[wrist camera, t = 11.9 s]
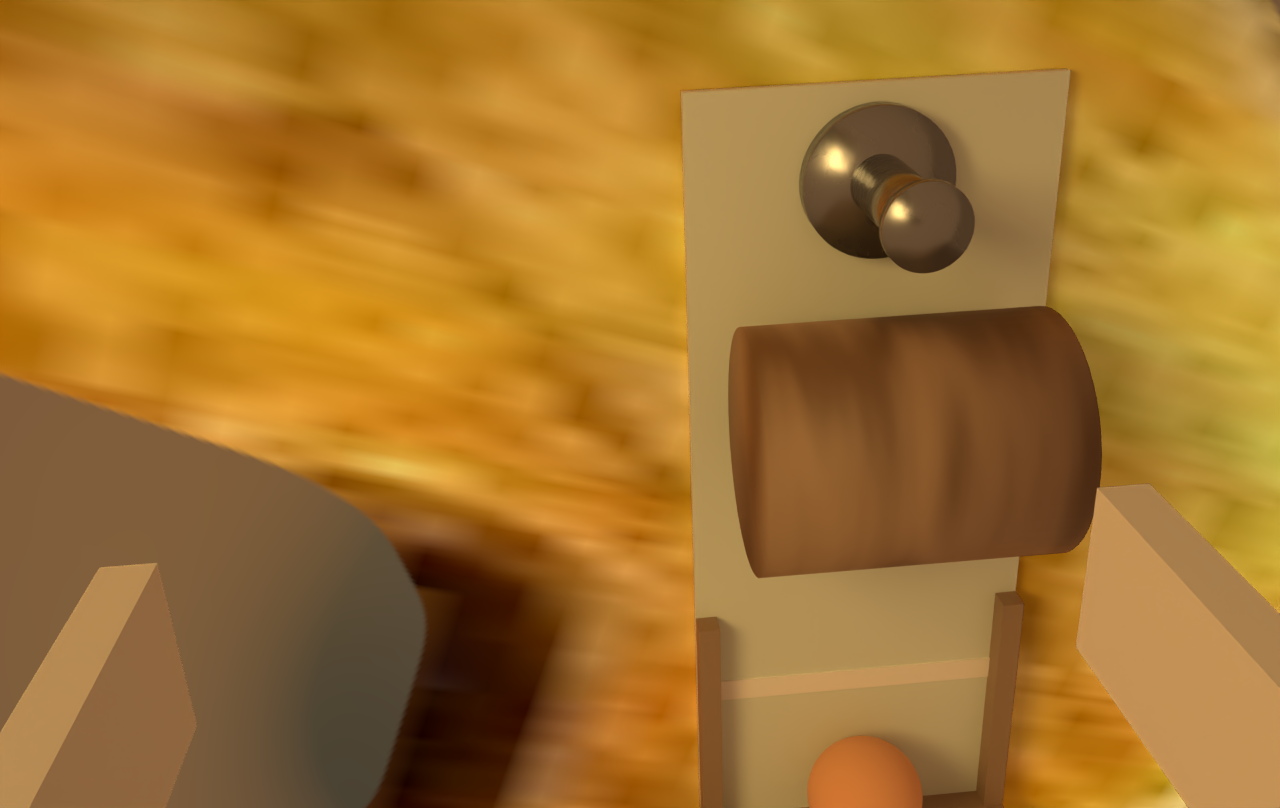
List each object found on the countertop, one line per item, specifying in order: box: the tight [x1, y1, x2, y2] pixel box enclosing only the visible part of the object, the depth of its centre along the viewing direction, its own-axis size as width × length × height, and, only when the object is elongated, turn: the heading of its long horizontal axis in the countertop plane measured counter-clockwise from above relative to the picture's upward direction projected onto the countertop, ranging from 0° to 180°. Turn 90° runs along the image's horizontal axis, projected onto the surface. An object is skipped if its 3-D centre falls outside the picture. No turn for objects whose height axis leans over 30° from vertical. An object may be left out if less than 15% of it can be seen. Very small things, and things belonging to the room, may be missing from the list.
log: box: [728, 306, 1102, 578], centre depth 43 cm, size 11×9×9 cm
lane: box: [681, 69, 1071, 808], centre depth 48 cm, size 14×35×5 cm, turn 2°
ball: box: [807, 736, 923, 808], centre depth 53 cm, size 5×5×5 cm
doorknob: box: [799, 101, 975, 273], centre depth 41 cm, size 6×6×6 cm
